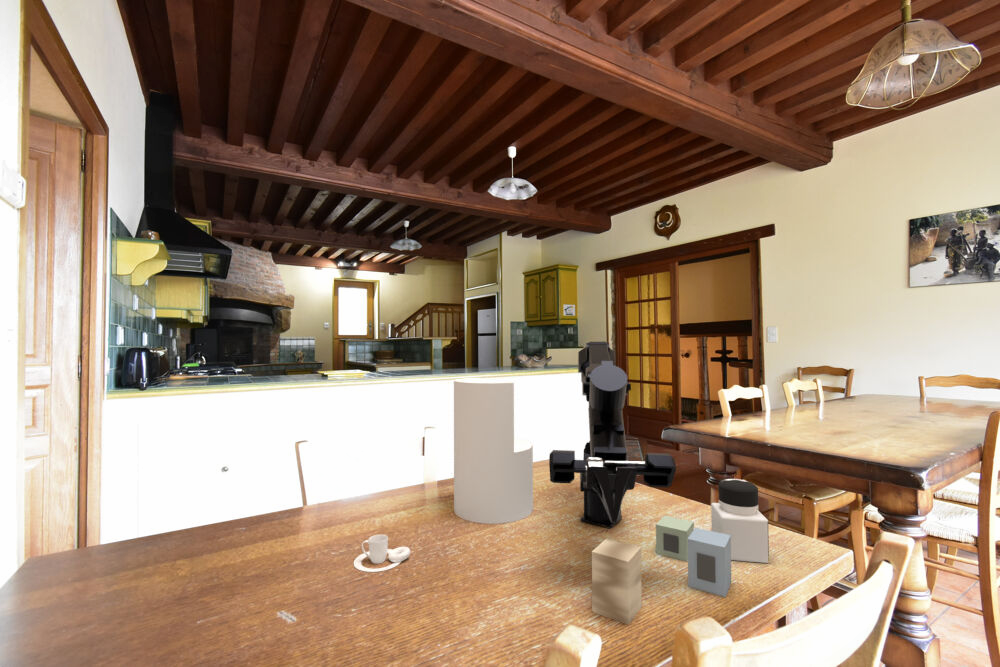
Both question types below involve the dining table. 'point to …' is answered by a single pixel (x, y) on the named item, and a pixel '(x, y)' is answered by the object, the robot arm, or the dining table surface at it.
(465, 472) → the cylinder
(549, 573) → the dining table surface
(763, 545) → the medicine bottle
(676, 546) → the sage numbered block
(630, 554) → the beech block
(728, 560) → the slate numbered block
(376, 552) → the teacup and saucer
